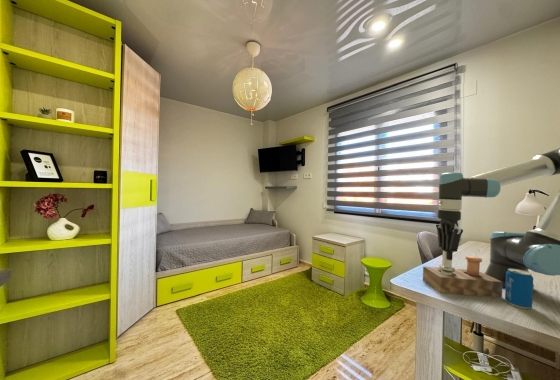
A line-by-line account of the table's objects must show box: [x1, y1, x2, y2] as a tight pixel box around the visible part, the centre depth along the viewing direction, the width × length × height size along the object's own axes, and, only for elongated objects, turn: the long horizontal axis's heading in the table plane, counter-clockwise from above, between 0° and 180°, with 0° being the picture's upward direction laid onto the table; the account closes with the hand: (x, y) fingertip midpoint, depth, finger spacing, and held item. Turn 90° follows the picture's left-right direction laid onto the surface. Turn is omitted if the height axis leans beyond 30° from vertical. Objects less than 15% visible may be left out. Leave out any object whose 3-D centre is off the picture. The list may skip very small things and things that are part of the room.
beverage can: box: [504, 269, 534, 310], centre depth 76 cm, size 6×6×12 cm
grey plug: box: [438, 264, 456, 275], centre depth 89 cm, size 5×5×7 cm
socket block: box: [422, 265, 503, 299], centre depth 88 cm, size 22×12×6 cm, turn 84°
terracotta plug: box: [465, 255, 483, 277], centre depth 88 cm, size 5×5×7 cm
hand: (446, 266), depth 89 cm, fingers closed
